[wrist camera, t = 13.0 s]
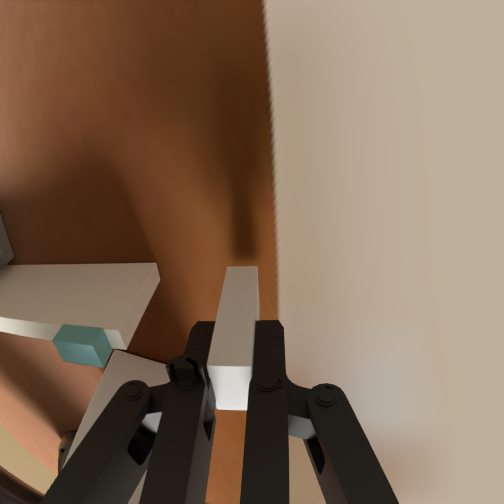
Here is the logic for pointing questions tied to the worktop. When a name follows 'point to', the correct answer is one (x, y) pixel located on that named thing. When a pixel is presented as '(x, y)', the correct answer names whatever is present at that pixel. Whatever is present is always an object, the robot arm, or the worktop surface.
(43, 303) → the cover panel
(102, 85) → the worktop surface
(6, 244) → the grey tray
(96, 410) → the milk carton
